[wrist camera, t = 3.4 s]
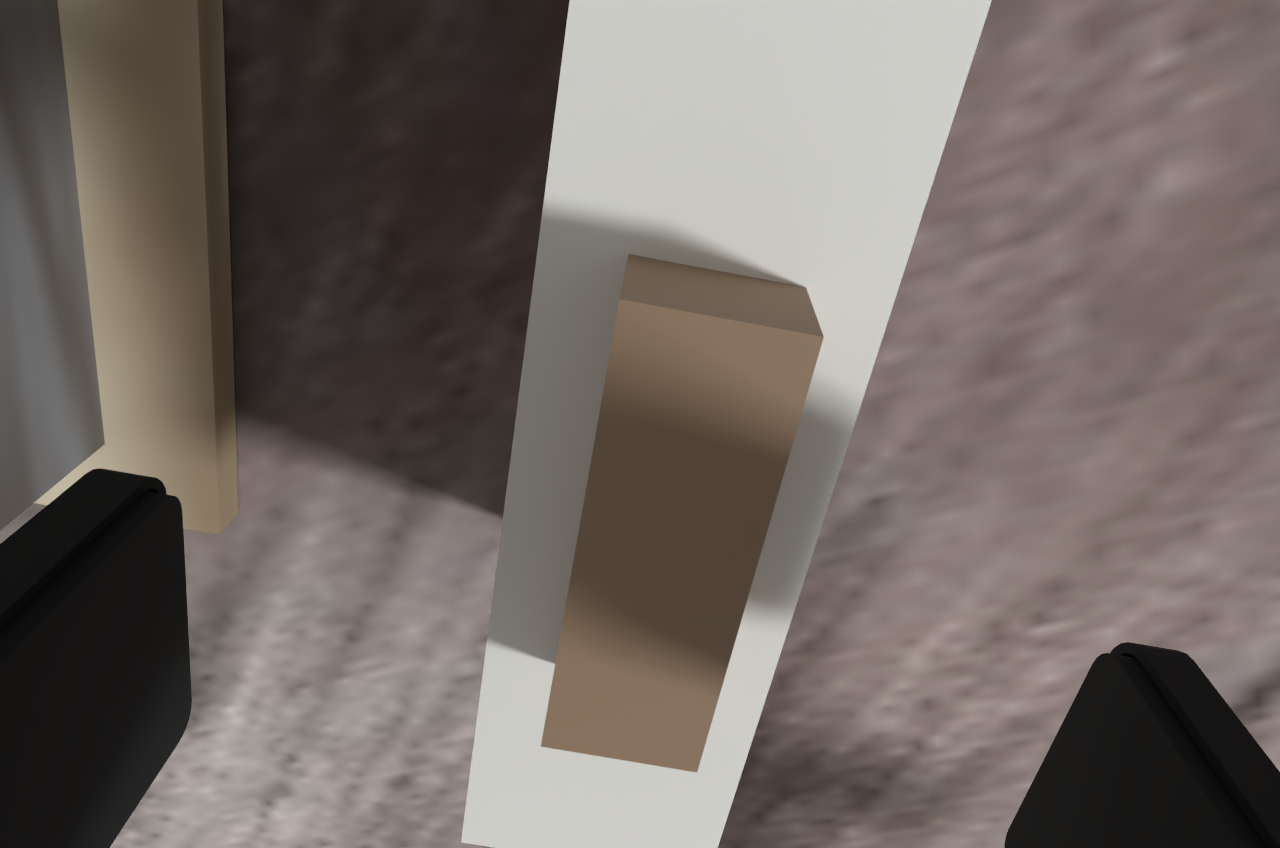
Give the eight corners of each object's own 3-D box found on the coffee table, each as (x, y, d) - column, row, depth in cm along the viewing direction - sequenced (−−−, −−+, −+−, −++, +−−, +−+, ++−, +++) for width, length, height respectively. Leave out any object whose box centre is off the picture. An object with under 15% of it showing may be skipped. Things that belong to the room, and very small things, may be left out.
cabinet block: (860, -73, 16) (1089, -117, 7) (700, 556, 23) (708, 973, 13) (641, -117, 16) (576, -224, 7) (541, 528, 23) (438, 931, 13)
